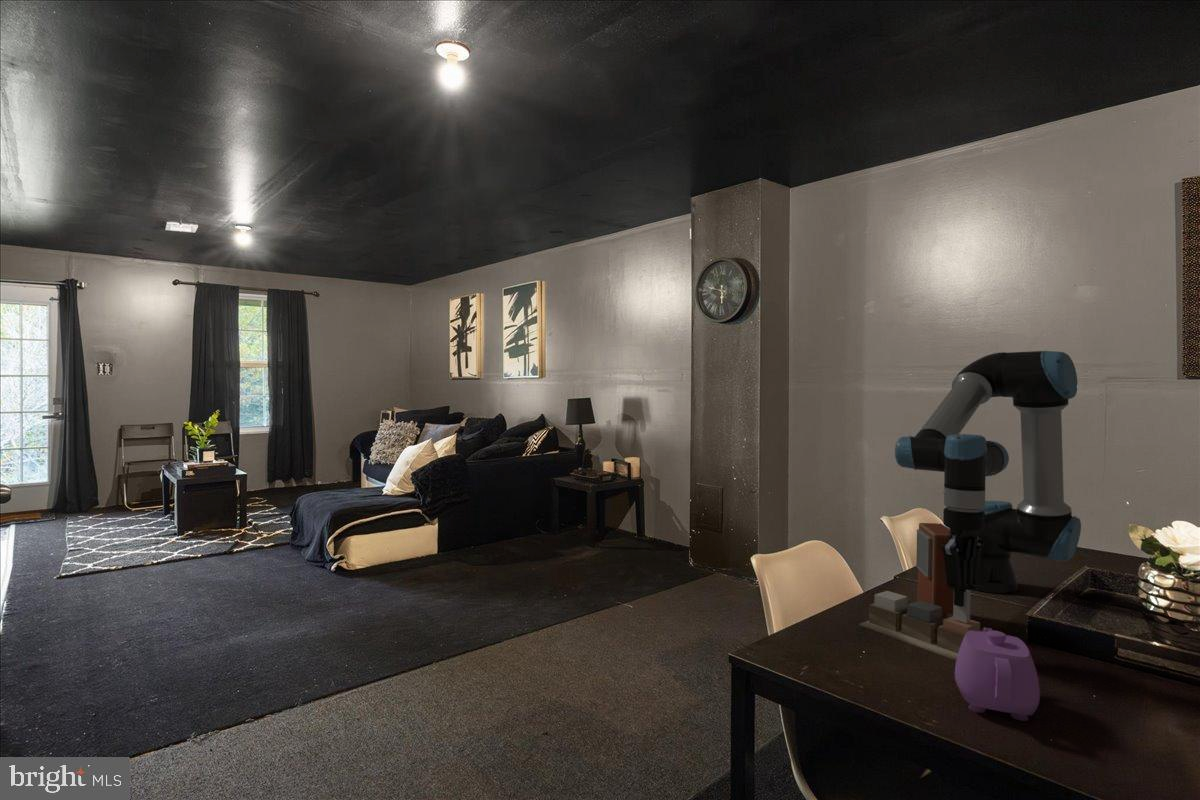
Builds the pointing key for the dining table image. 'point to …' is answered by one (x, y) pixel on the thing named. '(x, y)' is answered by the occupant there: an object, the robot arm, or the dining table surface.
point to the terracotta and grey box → (933, 567)
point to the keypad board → (915, 631)
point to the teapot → (997, 674)
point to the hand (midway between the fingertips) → (961, 620)
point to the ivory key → (890, 601)
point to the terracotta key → (960, 625)
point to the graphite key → (924, 611)
